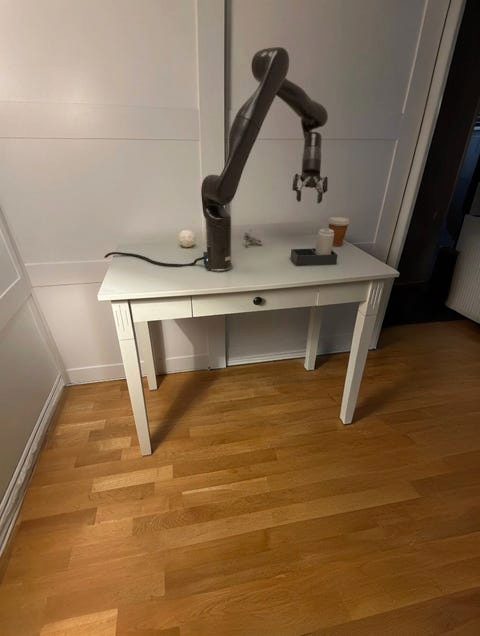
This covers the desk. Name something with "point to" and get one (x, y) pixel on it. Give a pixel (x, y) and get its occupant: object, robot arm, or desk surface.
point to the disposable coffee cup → (338, 229)
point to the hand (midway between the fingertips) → (309, 202)
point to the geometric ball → (187, 238)
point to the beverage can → (324, 242)
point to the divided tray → (312, 257)
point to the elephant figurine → (251, 239)
